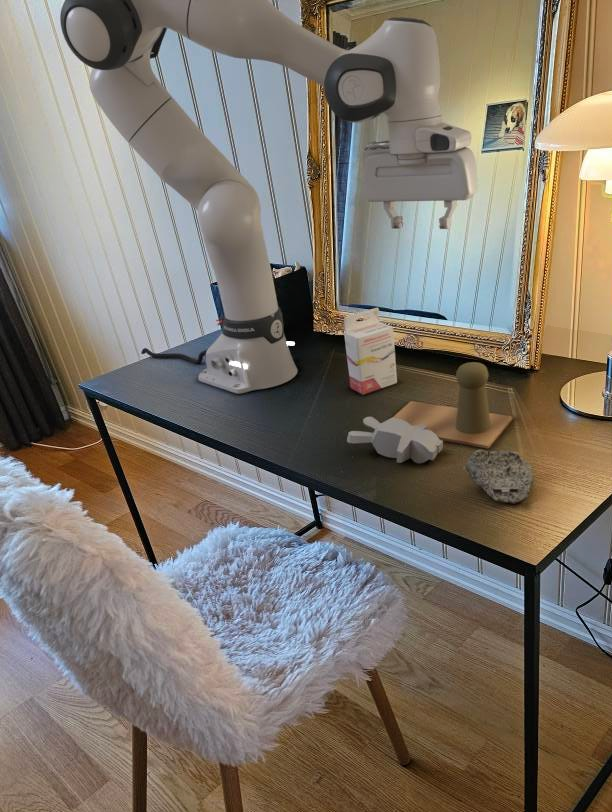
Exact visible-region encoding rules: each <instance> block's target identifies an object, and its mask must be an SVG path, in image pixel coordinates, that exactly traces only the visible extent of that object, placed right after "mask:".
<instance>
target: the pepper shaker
mask: <svg viewBox="0 0 612 812" xmlns="http://www.w3.org/2000/svg"><path fill="white" fill-rule="evenodd" d="M455 378H456V382H457V384H458V385H459V389H458V391H459V392H458V398H457V399H458V400H457V407H456V408H457V417H456V429H457V430H458V431H460V432H462V433H466V434H478V433H482V432H485V431H487V430H488V429H490V427H491V421H490V415H489V413H490V408H489V402H488V397H487V396H488V395H487V389H486V384H487V382H488V379H489V371H488V368H487V366H486V365H485V364H483V363H481V362H476V361H473V362H466V363H463V364H461V365H459V367H458V369H457V370H456V373H455Z"/></svg>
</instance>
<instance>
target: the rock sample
mask: <svg viewBox="0 0 612 812" xmlns="http://www.w3.org/2000/svg"><path fill="white" fill-rule="evenodd" d="M520 455H521V454H520V453H519V452H518V451H514V450H503V449H500V450H498V449H497V450H491V451H490V450H489V451H488V450H486V449H477V450H475V451H474V452H473V453H472V454H471V455H470V456H469V458H468V459H467V460H466V464H464V466H463V468H462V469H463V470H465V471H466V472H467V474H468V475H469V478H470V479H471V481H473V482H474V483H475V484H476V485H478V486H479V487H481V488H482V489H483V491H484V492H485V493H486V494H487V495H488V496H489V497H490V498H492V500H494V501H496V502H502V503H505V504H507V503H510V504H512V505H515V504H517V503H519V502H522V501H524V500H526V498H528V497H529V495H530V494H531V493H530V492H531V484H532V483H533V482H534V481H533V478H532V477H534V476H535V472H533V467H532V466H531V464H530V463H529V462H528V460H527V459H525V458H522V457H521V456H520Z"/></svg>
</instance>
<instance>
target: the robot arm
mask: <svg viewBox="0 0 612 812" xmlns="http://www.w3.org/2000/svg"><path fill="white" fill-rule="evenodd" d="M59 15H60V17H59V21H60V29H61V32H62V35H63V38H64V40H65V42H66V44H67V46H68V48H69V49H70V51H71V52H72V53H73V54H74V56H75V57H76V58H77V59H78V60H79V61H80V62H81V63H83V64H85V65H86V66H88V67H89V68H92V69H91V71H90V76H89V81H88V85H89V89H90V92H91V95H92V96H93V98H94V100H95V101H96V103H97V105H98V106H99V108H100V109H101V110H102V112H103V113H104V115H105V116H106V118H107V119H108V120H109V121H110V123H111V124H112V125H113V126H114V128H115V129H116V130H117V132H118V133H119V134H120V135H121V136H122V138H123V139H124V140H125V142H127V143H128V144H129V145H130V146H131V148H132V149H133V150H134V151H135V152H136V153H137V154H138V155H139V156H140V158H141V159H142V160H143V161H144V162H145V163H146V164H147V165H148V166H149V167H150V168H151V169H152V171H153V172H154V173H155V174H156V175H157V176H158V177H159V178H160V179H161V180H162V182H164V183H165V184H166V185H168V186H169V187H170V188H172V189H173V190H174V191H175V192H177V194H179V195H180V196H181V197H182V198H183V199H185V201H187V202H188V203H189V204H190V205H191V206H192V207H193V208H194V209H195V210H196V211H197V219H198V220H197V221H198V223H199V226H200V227H199V228H200V231H201V235H202V238H203V242H204V245H205V248H206V251H207V255H208V258H209V261H210V264H211V267H212V269H213V273H214V275H215V279H216V284H217V287H218V292H219V297H220V300H221V304H222V309H223V313H224V315H223V316H222V317H220V318H218V319H216V320H215V321H216V322H218V323H217V324H216V325H217V326H220V325H222V330H221V334H220V335H219V336H218V337H217V338H216V340H215V341H214V342H213V343H212V344H211V345H210V346H209V347H208V348H207V349H204V350H202V351H200V353H199V354H198V357H197V359H194V358H192V357H190V356H188V355H186V354H183V353H176V352H175V353H156V352H153V351H151V350H150V349H149V348H146V347H144V348H143V349H142V350H141V352H140V354H141V355H144V354H146V355H148V356H150V357H152V358H157V359H166V358H167V359H169V358H170V359H171V358H173V359H176V358H177V359H182V360H185V361H188V362H189V363H191V364H195V365H199V364H201V363H202V362H203V359H204V357H205V364H206V367H205V369H203V370H202V371H201V372H200V373H199V375H198V381H199V382H200V383H203V384H206V385H208V386H209V385H210V386H213V387H216V388H219V389H221V390H225V391H227V392H231V393H233V394H237V395H240V394H245V393H248V392H252V391H257V390H264V389H269V388H273V387H277V386H280V385H283V384H285V383H287V382H289V381H291V380H292V379H294V378H295V377H296V376H297V374H298V373H299V372H298V368H297V365H296V364H295V361H294V358H293V356H292V354H291V351H290V347H289V346H295V344H296V343H295V341H287V338H286V335H285V332H284V328H285V327H284V325H285V324H284V319H283V313H282V310H281V307H280V306H279V304H278V299H277V293H276V289H275V283H274V282H275V281H274V277H273V272H272V266H271V264H270V260H269V259H270V258H269V255H268V249H267V245H266V241H265V236H264V231H263V225H262V219H261V210H262V207H261V200H260V197H259V194H258V192H257V191H256V188H254V187H253V186H252V184H251V183H250V182H249V181H248V180H247V179H246V178H245V177H244V176H243V174H242V173H241V172H240V171H239V170H238V169H237V168H236V167H235V166H234V164H233V163H232V162H231V161H230V160H229V159H228V158H227V157H226V156H225V155H224V153H222V152H221V151H220V150H219V149H218V148H217V147H216V146H215V145H214V144H213V142H211V140H210V139H209V138H208V137H207V136H206V134H204V132H203V131H202V130H201V129H200V128H199V127H198V125H197V124H196V123H195V122H194V121H193V120H192V118H191V117H190V115H188V113H187V112H186V111H185V110H184V109H183V107H181V105H180V104H179V102H177V101H176V99H175V98H174V97H173V96H172V95H171V93H170V92H169V91H168V90H167V89H166V88H165V86H163V84H162V83H161V82H160V80H159V79H158V78H157V76H156V75H155V73H154V71H153V69H152V66H151V59H155V58H157V57H158V55H159V52H160V49H161V46H162V43H163V40H164V38H165V35H166V33H167V31H168V30H171V31H173V32H175V33H177V34H179V35H181V36H182V37H184V38H185V39H187V40H190V41H191V42H193V43H194V44H196V45H199V46H200V47H203V48H205V49H207V50H210V51H212V52H214V53H217V54H220V55H223V56H227V57H229V58H230V57H231V58H235V59H241V60H242V59H243V60H244V59H245V60H258V61H265V62H269V63H270V62H271V63H274V64H278V65H280V66H283V67H285V68H287V69H289V70H291V71H292V72H295V73H297V74H299V75H301V76H302V77H304V78H306V79H308V80H310V81H312V82H314V83H316V84H318V85H319V86H322V87H323V91H324V96H325V100H326V104H327V105H328V108H329V109H330V110H331V111H332V112H333V114H335V116H337V118H339V119H341V120H343V121H346V122H347V123H348V122H349V123H353V124H354V123H355V124H356V123H357V124H359V123H364V122H367V121H368V120H373V119H376V118H378V117H380V116H381V115H385V117H386V121H387V123H386V124H387V137H388V140H382V141H369V143H368V144H367V145H366V146H365V147H364V148H363V150H362V155H361V156H362V165H363V195H364V197H365V199H366V200H367V202H369V203H379V202H380V203H383V210H384V212H385V213H386V215H387V216H388V218H389V219H390V226H391V227H390V228H391V229H392V230H393V229H394V230H396V229H398V230H399V229H402V228H403V227H404V222H403V220H404V219H403V215H399V213H398V212H397V210H396V208H395V207H396V206H397V202H439V201H440V202H443V207H444V209H446V210H445V213H444V215H443V216H442V217H439V218H438V223H439V229H440V230H449V229H451V228H452V217H453V214H454V212H455V210H456V208H457V206H458V201H468V200H470V199H472V198H473V197H475V194H476V193H477V192H478V171H477V162H476V157H475V154H474V152H473V150H472V149H471V148H469V147H468V146H470V145H471V144H472V133H471V131H470V130H467V129H465V128H461V127H458V126H454V125H452V124H448V123H446V122H443V112H442V108H441V105H440V99H439V95H440V87H441V65H440V52H439V45H438V40H437V35H436V32H435V29H434V28H433V27H432V25H431V24H429V23H428V21H425V20H424V19H418V18H414V17H404V16H403V17H401V16H399V17H397V16H393V17H389V18H387V19H385V20H384V21H383V23H382V24H381V26H380V27H379V28H378V29H377V30H376V31H375V32H373V33H372V35H370V36H369V37H368V38H367V39H365V40H364V41H362V42H360V43H359V44H358V45H356V46H354V47H353V48H351V49H348V48H344V47H341V46H339V45H337V44H335V43H333V42H331V41H329V40H327V39H326V38H323V37H322V36H320V35H319V34H316V33H314V32H313V31H311V30H309V29H308V28H305V27H304V26H302V25H300V24H298V23H296V22H295V21H294V20H292V19H291V18H289V17H288V16H287V15H285V14H284V13H283V12H282V11H280V9H279V8H277V7H276V6H275V5H274V4H273V3H272V2H271V1H270V0H64V2H63V4H62V6H61V9H60V14H59Z"/></svg>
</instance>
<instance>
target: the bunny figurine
mask: <svg viewBox="0 0 612 812" xmlns="http://www.w3.org/2000/svg"><path fill="white" fill-rule="evenodd" d="M362 423H363V424H364V426H366V427H368V428H370V429H372V430H374V431H373V432H369V431H360V430H351V431H349V432H348V434H347V438H346V442H347V443H348V444H368V443H371V444H372V446H373V448H374V449H375V451H376V453H377V454H379V455H381V456H383V457H386V458H391V459H396V463H400V464H402V463H403V462H405V461H407V460H409V459H411V460H412V461H413V462H414V463H416V464H424V463H425V462H428V461H429V460H430V461H434V459H435V458H436V457H437V455H439V454H440V452H442V450H443V448H444V447H443V446H444V441H443V440H440V439H439V438H438V437H437V435H436V434H435V433H433V432H432V431H431V430H427V426H426V425H424V424H420V425H416V426H411V425H410V424H409V423H408V422H406V421H404V420H402V419H398V418H393V417H391V418H388V419H386V420H385V421H382V422H380V421H378V420H377V419H376V418H375V417H373V416H366V417H364V418H363V419H362Z"/></svg>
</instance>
